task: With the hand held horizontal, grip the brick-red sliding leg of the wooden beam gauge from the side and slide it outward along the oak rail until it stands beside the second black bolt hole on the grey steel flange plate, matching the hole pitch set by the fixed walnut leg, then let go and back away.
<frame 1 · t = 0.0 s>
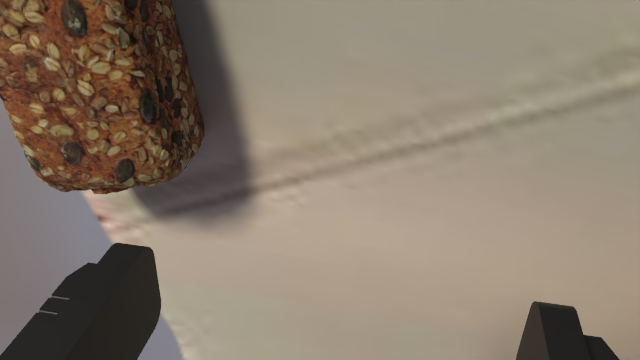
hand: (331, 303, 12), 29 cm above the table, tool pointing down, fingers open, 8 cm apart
bread: (120, 25, 42), on the table
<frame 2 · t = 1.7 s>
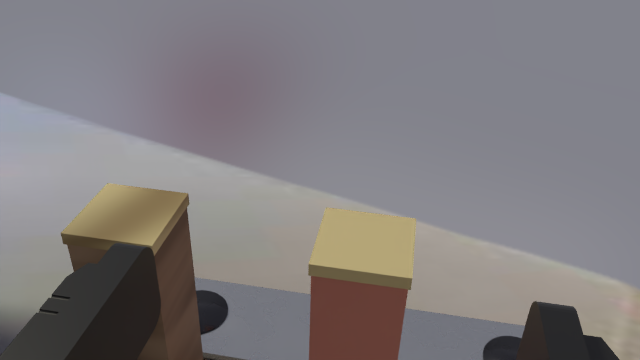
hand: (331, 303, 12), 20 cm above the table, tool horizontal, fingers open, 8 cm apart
flange plate: (346, 340, 37), on the table
sliding leg: (357, 335, 28), point 7 cm above the table, slide at 0.0 cm
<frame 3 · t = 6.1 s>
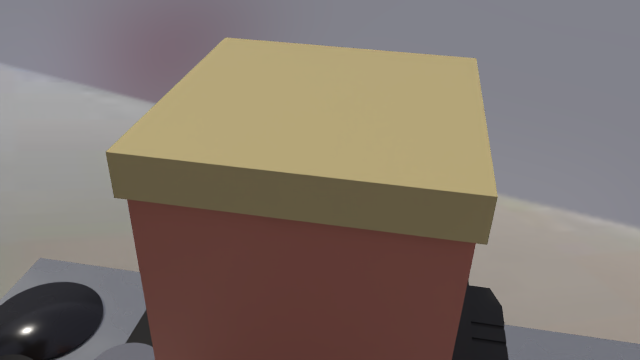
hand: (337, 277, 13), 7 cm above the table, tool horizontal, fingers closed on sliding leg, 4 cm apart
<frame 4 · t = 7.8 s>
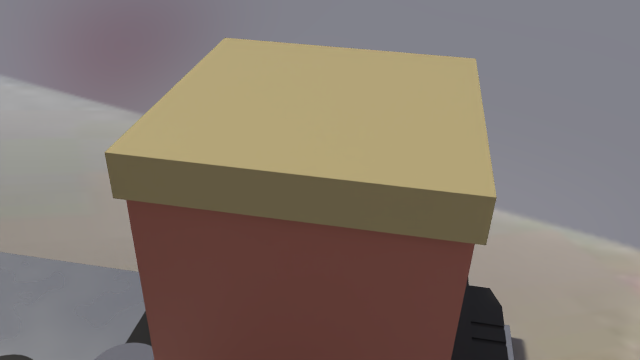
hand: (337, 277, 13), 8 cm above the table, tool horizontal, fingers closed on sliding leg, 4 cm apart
flange plate: (150, 346, 21), on the table
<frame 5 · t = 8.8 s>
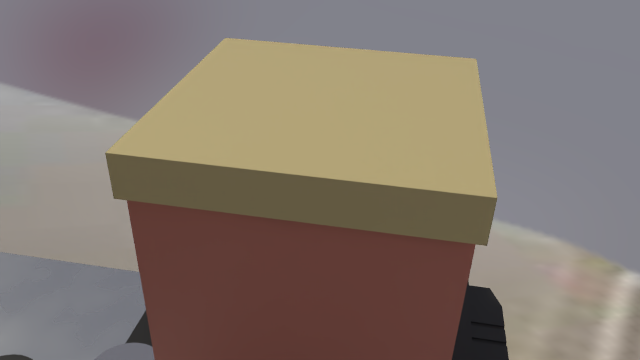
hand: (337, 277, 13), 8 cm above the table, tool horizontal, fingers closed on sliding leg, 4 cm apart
flange plate: (62, 332, 21), on the table
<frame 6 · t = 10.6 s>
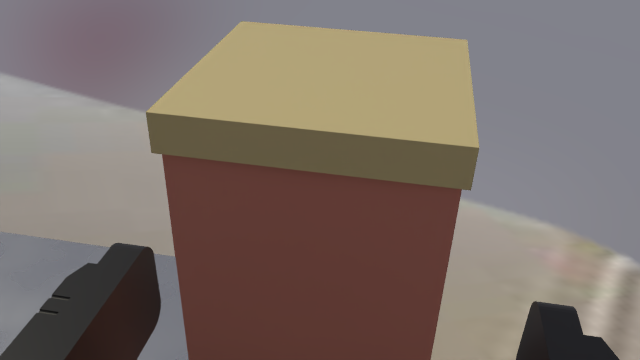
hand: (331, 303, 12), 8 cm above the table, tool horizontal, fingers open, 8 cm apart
flange plate: (78, 308, 22), on the table
sliding leg: (321, 337, 12), point 7 cm above the table, slide at 9.5 cm
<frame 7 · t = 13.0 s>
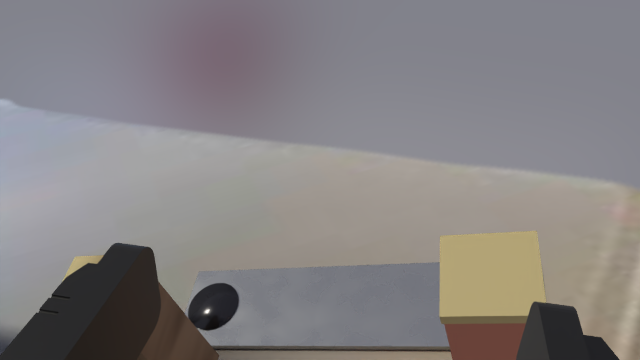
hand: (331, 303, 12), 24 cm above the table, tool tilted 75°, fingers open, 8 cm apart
flange plate: (343, 307, 41), on the table
sliding leg: (497, 339, 29), point 7 cm above the table, slide at 9.5 cm
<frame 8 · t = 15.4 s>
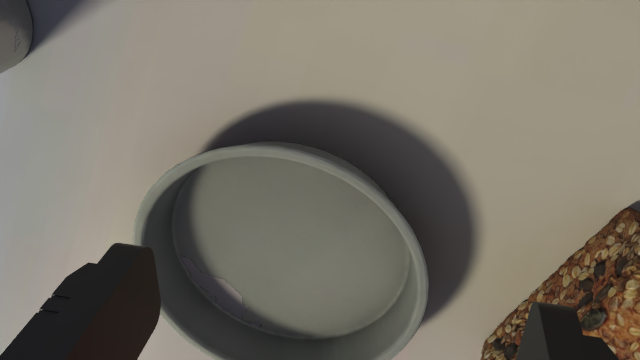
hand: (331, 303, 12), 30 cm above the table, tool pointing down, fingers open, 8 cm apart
bread: (591, 301, 48), on the table
cake pan: (287, 246, 51), on the table
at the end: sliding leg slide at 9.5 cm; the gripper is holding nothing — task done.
